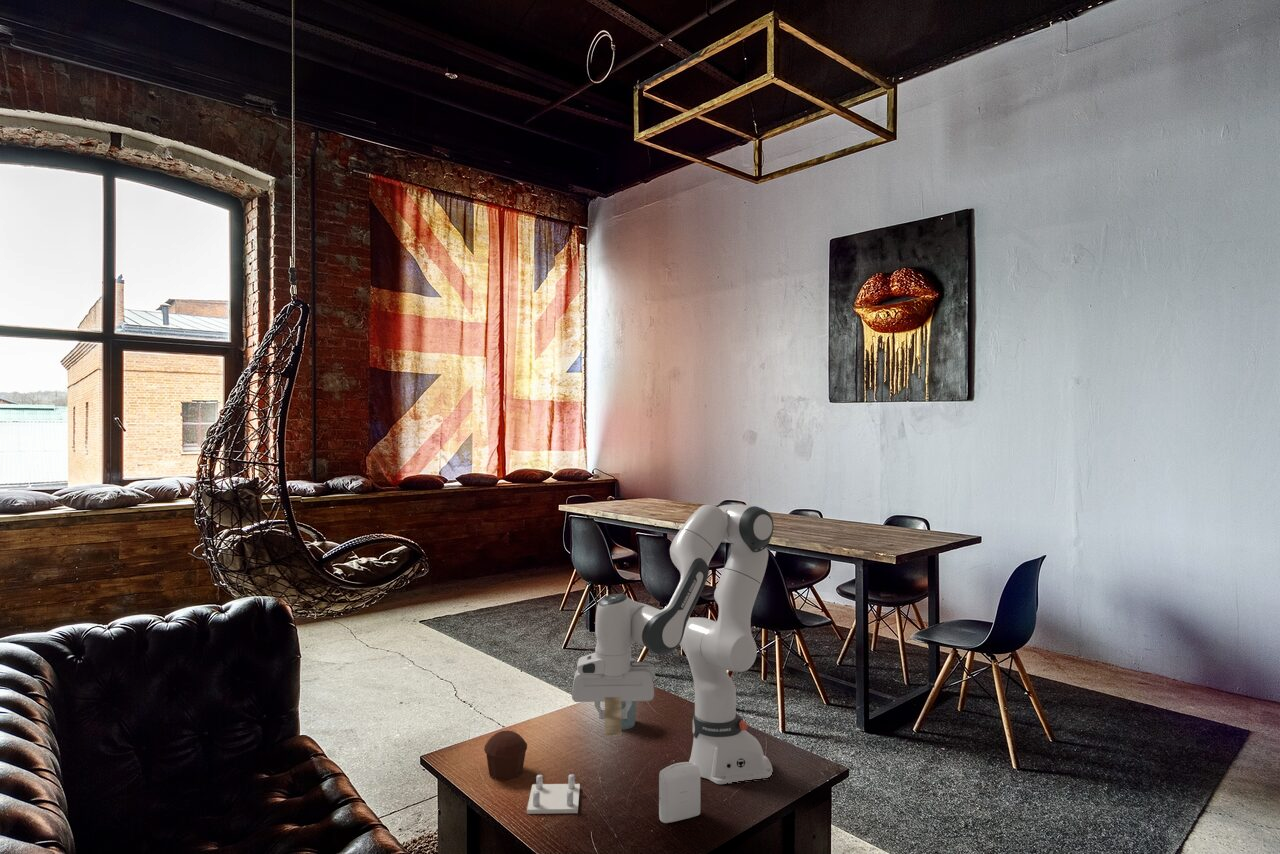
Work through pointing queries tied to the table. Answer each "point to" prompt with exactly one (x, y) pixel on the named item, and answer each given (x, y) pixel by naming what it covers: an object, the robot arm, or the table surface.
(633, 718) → the teal cup
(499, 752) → the muffin
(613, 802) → the table surface
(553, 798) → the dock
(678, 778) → the photo printer
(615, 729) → the block
